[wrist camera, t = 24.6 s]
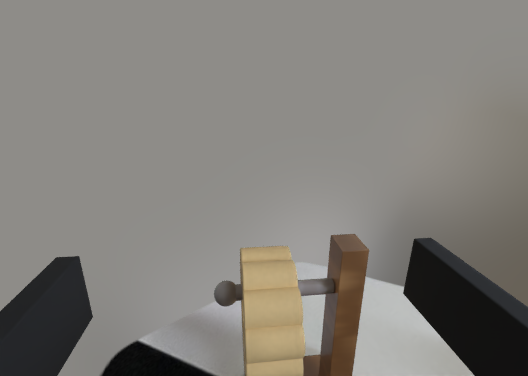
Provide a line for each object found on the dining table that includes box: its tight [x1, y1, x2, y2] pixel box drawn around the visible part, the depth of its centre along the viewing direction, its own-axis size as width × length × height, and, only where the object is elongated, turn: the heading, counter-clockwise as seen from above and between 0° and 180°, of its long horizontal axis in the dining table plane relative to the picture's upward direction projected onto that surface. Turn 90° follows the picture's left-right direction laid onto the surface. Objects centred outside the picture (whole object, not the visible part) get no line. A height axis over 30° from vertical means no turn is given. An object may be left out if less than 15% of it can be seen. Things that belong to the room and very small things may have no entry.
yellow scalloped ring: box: [240, 246, 305, 376], centre depth 27 cm, size 4×12×12 cm, turn 6°
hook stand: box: [214, 234, 369, 376], centre depth 28 cm, size 15×10×21 cm, turn 97°
